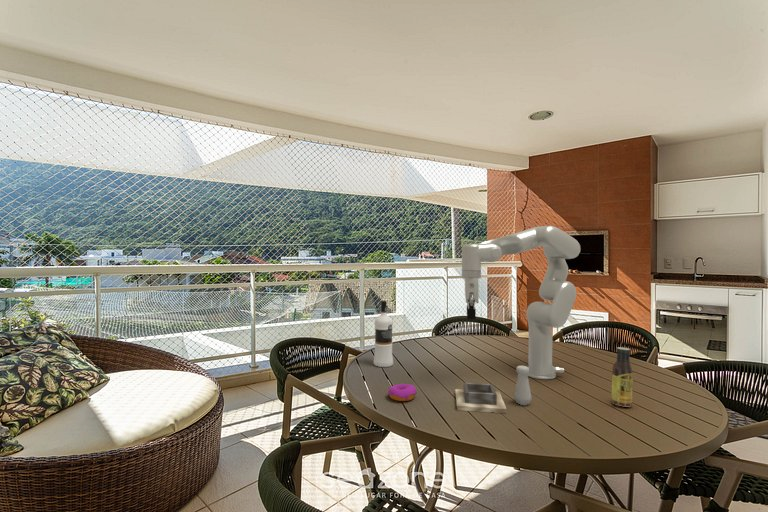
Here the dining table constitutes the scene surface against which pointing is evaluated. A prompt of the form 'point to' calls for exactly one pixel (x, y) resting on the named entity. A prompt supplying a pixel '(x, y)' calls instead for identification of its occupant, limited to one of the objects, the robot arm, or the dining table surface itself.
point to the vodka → (383, 338)
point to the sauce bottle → (622, 379)
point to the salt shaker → (522, 386)
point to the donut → (402, 392)
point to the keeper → (479, 398)
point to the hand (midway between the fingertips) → (470, 317)
